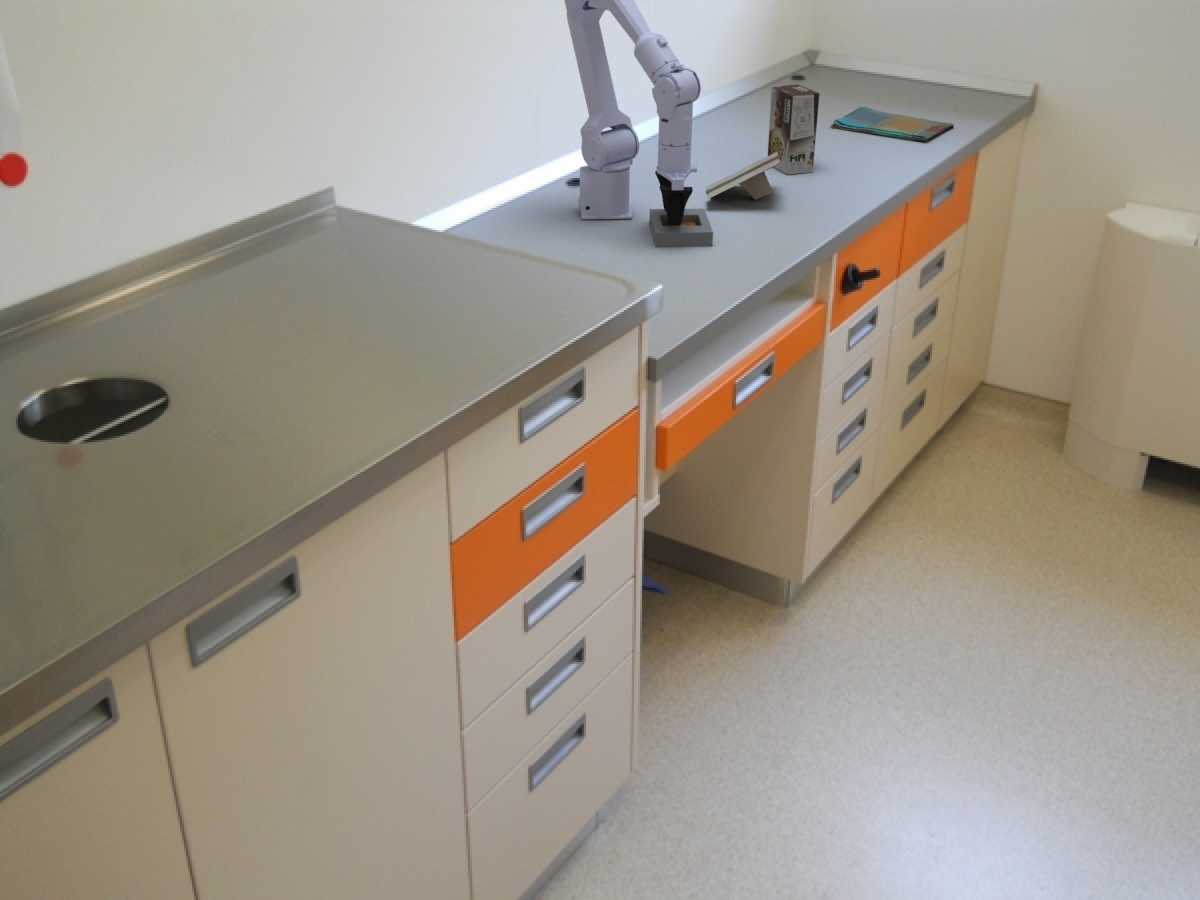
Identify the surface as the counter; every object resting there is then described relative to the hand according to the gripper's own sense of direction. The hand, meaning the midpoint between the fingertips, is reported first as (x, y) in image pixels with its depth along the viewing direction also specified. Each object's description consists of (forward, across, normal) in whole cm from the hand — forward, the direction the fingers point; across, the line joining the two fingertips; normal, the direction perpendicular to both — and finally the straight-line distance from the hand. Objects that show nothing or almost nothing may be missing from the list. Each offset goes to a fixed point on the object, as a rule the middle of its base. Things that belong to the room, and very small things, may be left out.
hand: (672, 217), depth 227 cm
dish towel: (+4, +71, -58) cm, 92 cm away
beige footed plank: (+3, +20, -15) cm, 25 cm away
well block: (+3, 0, -2) cm, 3 cm away
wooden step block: (+3, 0, -2) cm, 4 cm away
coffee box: (+3, +40, -28) cm, 49 cm away
